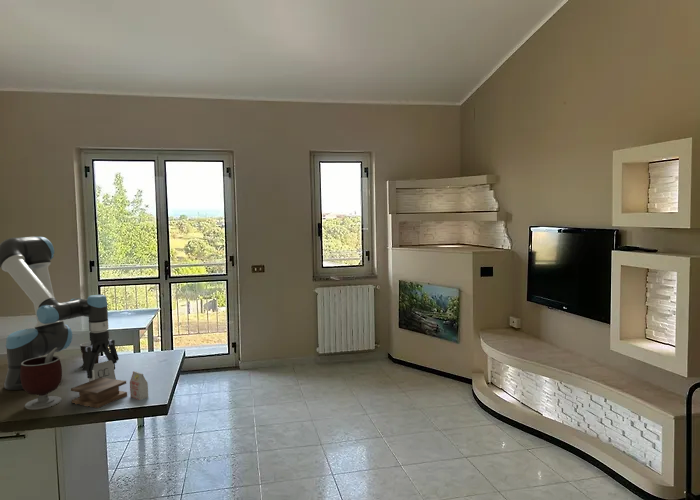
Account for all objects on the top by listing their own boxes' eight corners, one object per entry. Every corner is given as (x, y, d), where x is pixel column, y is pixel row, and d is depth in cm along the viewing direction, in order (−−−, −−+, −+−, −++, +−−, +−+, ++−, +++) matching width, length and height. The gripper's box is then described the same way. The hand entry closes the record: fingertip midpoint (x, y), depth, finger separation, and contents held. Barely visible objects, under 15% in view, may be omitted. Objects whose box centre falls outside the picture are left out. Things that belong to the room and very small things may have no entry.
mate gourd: (45, 411, 191) (42, 358, 190) (13, 409, 193) (9, 357, 192) (74, 396, 206) (71, 347, 205) (44, 394, 209) (41, 346, 207)
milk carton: (139, 393, 207) (137, 369, 207) (148, 397, 203) (147, 372, 203) (130, 396, 204) (129, 372, 204) (139, 400, 200) (138, 375, 200)
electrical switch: (94, 387, 217) (92, 365, 217) (89, 385, 220) (87, 364, 220) (116, 381, 224) (114, 360, 224) (110, 380, 227) (108, 359, 227)
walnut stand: (71, 403, 198) (70, 388, 198) (101, 391, 211) (101, 377, 211) (97, 408, 193) (96, 392, 192) (127, 395, 206) (126, 381, 205)
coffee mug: (85, 361, 255) (84, 342, 254) (103, 360, 256) (102, 341, 255) (75, 368, 244) (74, 348, 243) (94, 367, 245) (93, 347, 244)
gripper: (82, 337, 209) (86, 390, 210) (125, 325, 229) (128, 374, 231) (70, 336, 212) (73, 388, 213) (113, 324, 232) (116, 373, 234)
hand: (102, 381), depth 222 cm, fingers closed on electrical switch, 9 cm apart
